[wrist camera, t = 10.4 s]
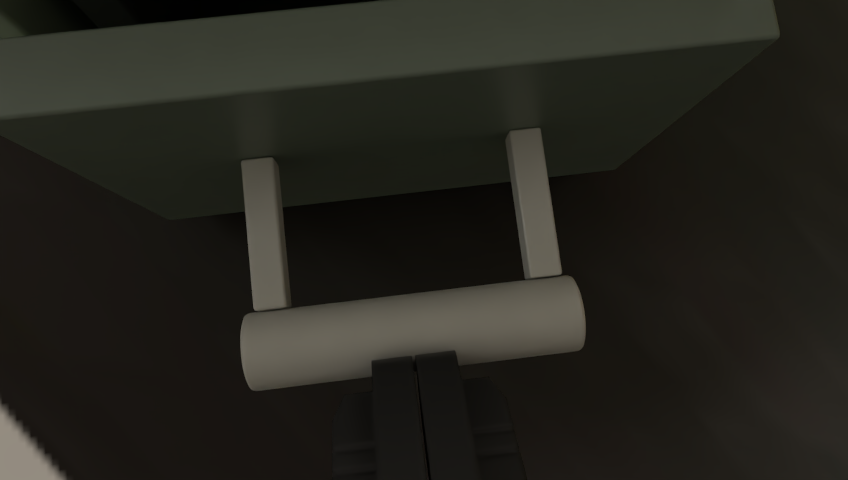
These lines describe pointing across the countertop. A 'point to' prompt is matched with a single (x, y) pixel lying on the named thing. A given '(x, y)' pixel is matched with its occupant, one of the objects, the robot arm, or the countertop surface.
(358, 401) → the robot arm
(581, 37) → the drawer
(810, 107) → the countertop surface
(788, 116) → the countertop surface
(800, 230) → the countertop surface
